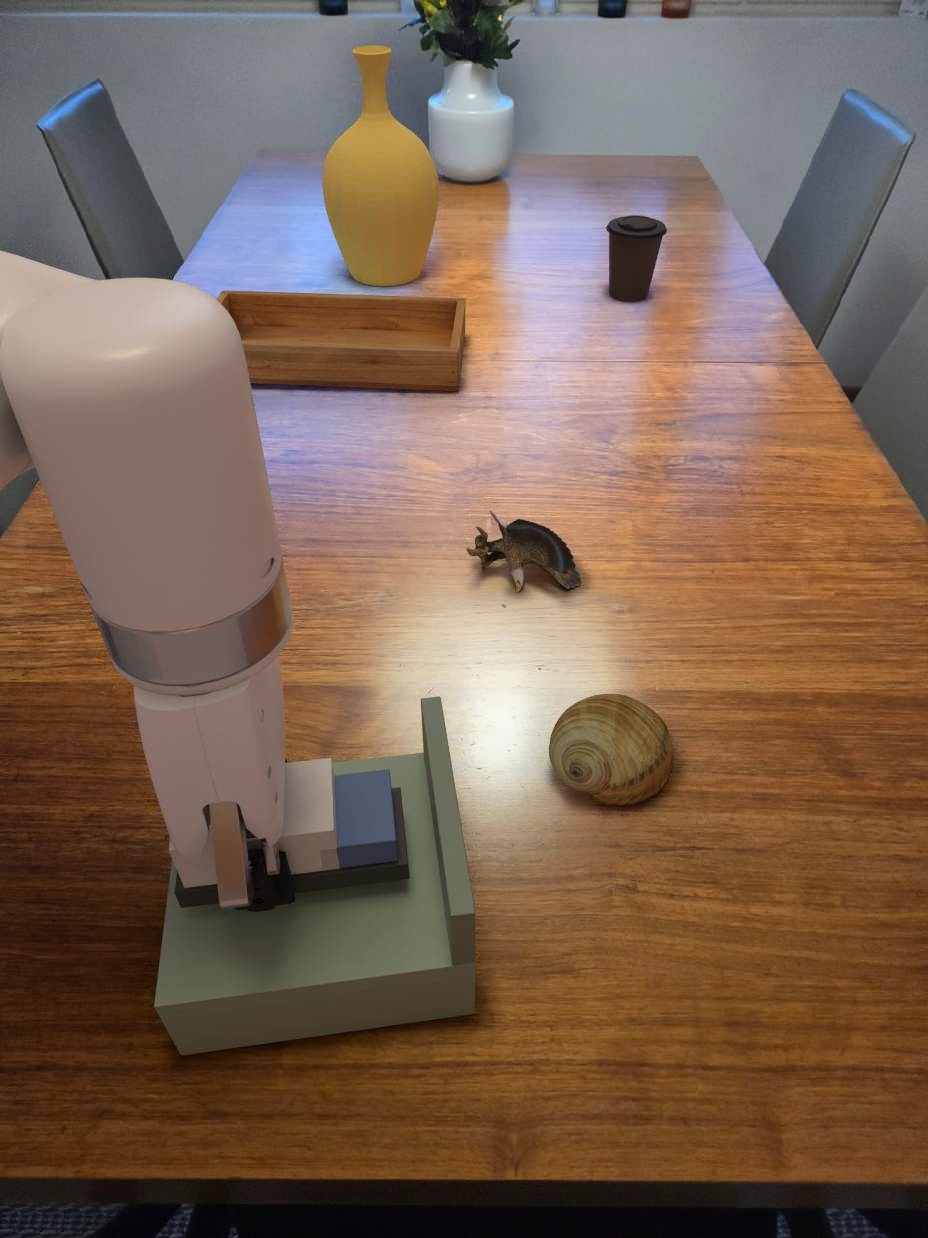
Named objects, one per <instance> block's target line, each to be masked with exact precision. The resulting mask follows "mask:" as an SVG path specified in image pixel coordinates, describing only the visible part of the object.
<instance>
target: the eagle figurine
mask: <svg viewBox="0 0 928 1238" xmlns="http://www.w3.org/2000/svg"><path fill="white" fill-rule="evenodd" d="M489 515H491V517H492V519H494V521H495V522H496V523H497V526H498V528H499V532H500V533H501V538H498V539H495V540H492V541H488V538H489V534H488V532H486V531H485V530H484V529H483V528H482V527H480V526H477V525H476V526H475V528H476V530H477V531H478V532H479V534H478V535H476V536H475V538H474V546H475V547H474V548H470V547H466V550H465V551H466V552H467V554H468V555H469V556H471V557H478V558H479V559H480V563H481V564H480V566H481V567H482V568H487V567H488V566H490V565H491V564H492V563H493V562H495V561H498V560H504V559H505V560H506V564H507V567H508V570H509V571H510V573H511V575H512V577H513V580H514V585H515V593H519V592H520V591H521V589H522V586H523V585H524V580H525V575H524V566H525V565H530V564H531V565H535V566H537V567H539V568H541V569H542V570H544V571H545V572H547V574H549V575H551V576H552V578H554V580H556V581H557V582H558V583H559V584H560V585H561V586H562V587H564V588H565V590H566V589H567V590H569V589H576V587H579V586H581V583H582V578H581V577H580V576H581V574H580V572H578V570H577V565H576V563H575V561H574V559H575V557H574V555H573V553H572V552H571V549H570V548H569V547H568V543H567V542H566V541H563V539H562V537H560V536H559V535H558V534H557V533H555V531H553V530H552V529H550V527H547V526H545V525H542V524H539V523H537V522H534V521H530V520H526V519H521V518H517V519H515V520H513V521H512V522H509V524H507V523H506V522H504V520H502V519H501V518H500V517H499V516H498V515H497V513H495V511H494V510H492V509H489Z"/></svg>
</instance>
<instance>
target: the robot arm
mask: <svg viewBox="0 0 928 1238" xmlns="http://www.w3.org/2000/svg"><path fill="white" fill-rule="evenodd" d="M216 299H217V298H216V297H214V296H213V295H212V294H209V293H208V292H206V291H204V290H202V289H201V288H198V287H196V286H194V285H192V284H189V283H186V282H182V281H178V280H172V279H167V278H157V277H155V278H154V277H121V278H119V277H118V278H110V279H101V280H98V279H95V278H91V277H87V276H82V275H80V274H76V273H73V272H70V271H67V270H65V269H60V268H57V267H54V266H51V265H48V264H45V263H42V262H39V261H36V260H33V259H30V258H27V257H23V256H21V255H17V254H14V253H11V252H8V251H5V250H1V249H0V492H1V491H2V490H3V489H5V488H6V487H7V485H9V484H10V483H11V482H12V481H13V480H14V479H15V478H16V477H19V476H21V475H22V474H25V473H26V472H28V471H31V470H33V469H35V470H36V473H37V475H38V478H39V480H40V483H41V485H42V488H43V491H44V494H45V496H46V499H47V501H48V503H49V506H50V509H51V512H52V514H53V517H54V519H55V522H56V524H57V526H58V527H57V528H58V529H59V532H60V534H61V536H62V539H63V542H64V544H65V547H66V550H67V552H68V555H69V557H70V559H71V562H72V564H73V565H72V566H73V567H74V569H75V572H76V575H77V578H78V579H79V582H80V585H81V588H82V590H83V592H84V596H85V598H86V600H87V602H88V604H89V607H90V609H91V612H92V614H93V618H94V620H95V622H96V624H97V627H98V630H99V632H100V634H101V637H102V640H103V643H104V645H105V647H106V650H107V653H108V656H109V658H110V661H111V664H112V666H113V668H114V669H115V670H116V671H117V673H118V674H119V675H120V676H121V677H122V678H123V679H124V680H126V681H127V682H129V683H130V684H131V685H132V687H133V688H132V689H133V699H134V700H133V701H134V706H135V707H134V708H135V715H136V720H137V726H138V731H139V736H140V741H141V745H142V749H143V753H144V758H145V762H146V765H147V768H148V772H149V776H150V780H151V783H152V786H153V789H154V793H155V795H156V799H157V803H158V805H159V808H160V811H161V814H162V815H161V816H162V818H163V821H164V824H165V827H166V830H167V833H168V836H169V840H170V839H171V842H172V844H173V847H174V848H175V850H176V851H177V853H178V854H179V855H180V856H182V857H183V858H192V857H201V855H202V853H203V850H204V848H205V845H206V842H207V839H208V836H209V832H210V835H211V840H212V845H213V850H214V858H215V867H216V876H217V885H218V894H219V902H220V907H221V909H227V908H234V909H236V910H245V909H246V910H248V911H251V912H261V911H268V910H271V909H273V908H275V907H276V906H277V905H284V904H291V903H293V902H294V901H295V887H294V883H293V879H292V875H291V871H290V868H289V864H288V860H287V856H286V852H283V851H278V845H277V841H278V840H279V839H280V837H281V836H282V831H283V816H284V783H285V763H288V759H287V758H286V704H285V703H286V702H285V691H284V690H285V689H284V682H283V675H282V669H281V664H280V658H279V655H281V653H283V651H284V649H285V647H286V646H287V644H288V642H289V641H290V639H291V636H292V634H293V629H294V625H295V615H294V608H293V604H292V601H291V594H290V589H289V583H288V578H287V572H286V568H285V562H284V557H283V553H282V547H281V542H280V536H279V529H278V525H277V520H276V513H275V509H274V504H273V503H274V502H273V498H272V493H271V486H270V482H269V476H268V470H267V465H266V460H265V455H264V449H263V442H262V438H261V433H260V428H259V422H258V416H257V412H256V408H255V401H254V395H253V389H252V383H250V379H249V373H248V368H247V363H246V358H245V353H244V349H243V345H242V341H241V337H240V334H239V331H238V329H237V327H236V324H235V322H234V320H233V319H232V317H231V316H230V314H229V313H228V311H227V310H226V309H225V308H224V307H223V306H222V305H221V304H220V303H219V302H218V301H217V300H216ZM249 838H258V839H261V843H262V848H258V849H250V850H247V843H246V839H249Z"/></svg>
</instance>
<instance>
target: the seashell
mask: <svg viewBox="0 0 928 1238" xmlns="http://www.w3.org/2000/svg"><path fill="white" fill-rule="evenodd" d="M548 744H549V745H548V755H549V757H548V758H549V761H550V764H551V767H552V769H553V771H554V772H555V774H556V775H557V777H558V778H559V779H560V780H561V781H562V782H563V784H566V785H567V786H569V787H570V788H571V789H574V790H575V791H577V792H583V793H588V794H589V795H590V796H591V798H592V800H595V801H596V802H597V801H598V802H599V803H602V804H606V805H611V806H615V805H617V806H621V805H622V806H624V807H627V806H629V805H630V804H639V803H641V802H643V801H646V800H650V799H651V798H652V797H653V796H657V794H658V793H659V792H660V791H662V789H663V787H664V786H666V785H667V782H668V780H669V777H670V774H671V772H672V767H673V762H674V745H673V742H672V738H671V735H670V732H669V728H668V725H667V724H666V723H665V721H664V720H663V718H662V717H661V716H660V715H659V714H658V712H656V711H655V710H654V709H653V708H651V707H649V706H648V705H647V704H645V703H644V702H642V701H640V700H638V699H635V698H633V697H631V696H628V695H626V694H620V693H602V694H594V695H590V696H588V697H585V698H582V699H581V700H579V701H577V702H574V703H573V704H572V705H570V706H569V707H568V708H566V709H565V710H564V711H563V712H562V714H560V716H559V718H558V719H557V721H556V722H555V724H554V726H553V728H552V731H551V734H550V738H549V743H548Z"/></svg>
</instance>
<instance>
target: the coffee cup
mask: <svg viewBox="0 0 928 1238" xmlns="http://www.w3.org/2000/svg"><path fill="white" fill-rule="evenodd" d="M605 229H606V232H607V233H608V294H609V295H608V296H610V297H611V298H612V299H613V300H615V301H619V302H623V303H638V302H642V301H645V300H646V299H647V298H648V296H649V292H650V289H651V285H652V281H653V276H654V273H655V270H656V269H655V268H656V265H657V260H658V256H659V252H660V250H661V249H660V248H661V245H662V241H663V237H664V236H665V235H666V234H667V232H668V229H667V227H666V224H665V223H664V222H663V221H661V220H659V219H656V218H653V217H649V216H645V215H638V214H636V215H635V214H633V215H625V216H619V217H616V218H615V217H614V218H613V219H611V220H609V222H608V224H607V225H606V226H605Z"/></svg>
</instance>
